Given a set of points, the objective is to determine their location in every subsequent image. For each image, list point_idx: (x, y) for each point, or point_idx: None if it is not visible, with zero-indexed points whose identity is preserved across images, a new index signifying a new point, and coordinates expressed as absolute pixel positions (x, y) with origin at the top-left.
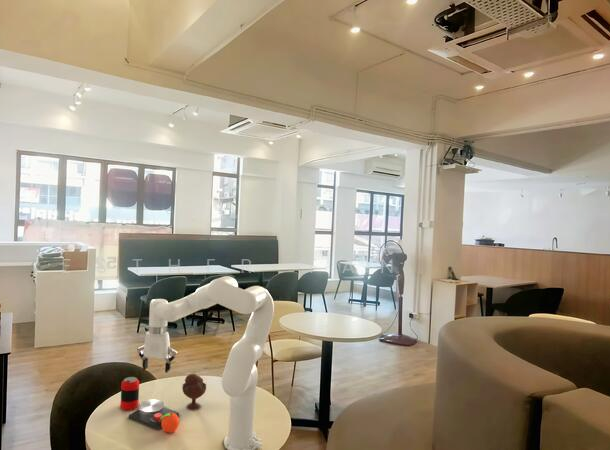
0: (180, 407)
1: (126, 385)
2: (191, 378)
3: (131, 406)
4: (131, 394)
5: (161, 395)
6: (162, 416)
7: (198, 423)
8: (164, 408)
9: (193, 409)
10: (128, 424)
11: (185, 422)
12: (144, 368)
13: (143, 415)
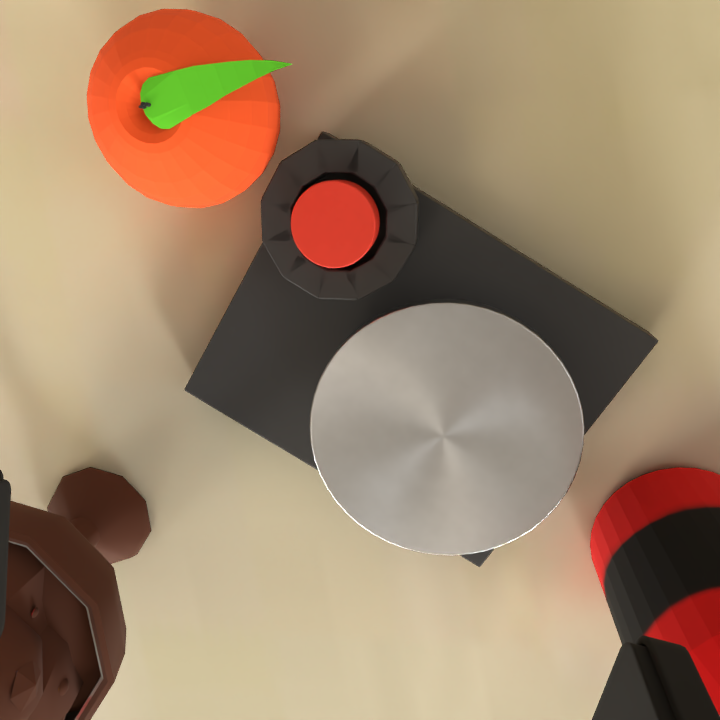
0: (206, 509)
1: None
2: None
3: (655, 487)
4: (705, 556)
5: (405, 702)
6: (244, 82)
7: (4, 257)
8: None
9: (88, 469)
10: (635, 225)
11: (114, 271)
12: (651, 671)
13: None
